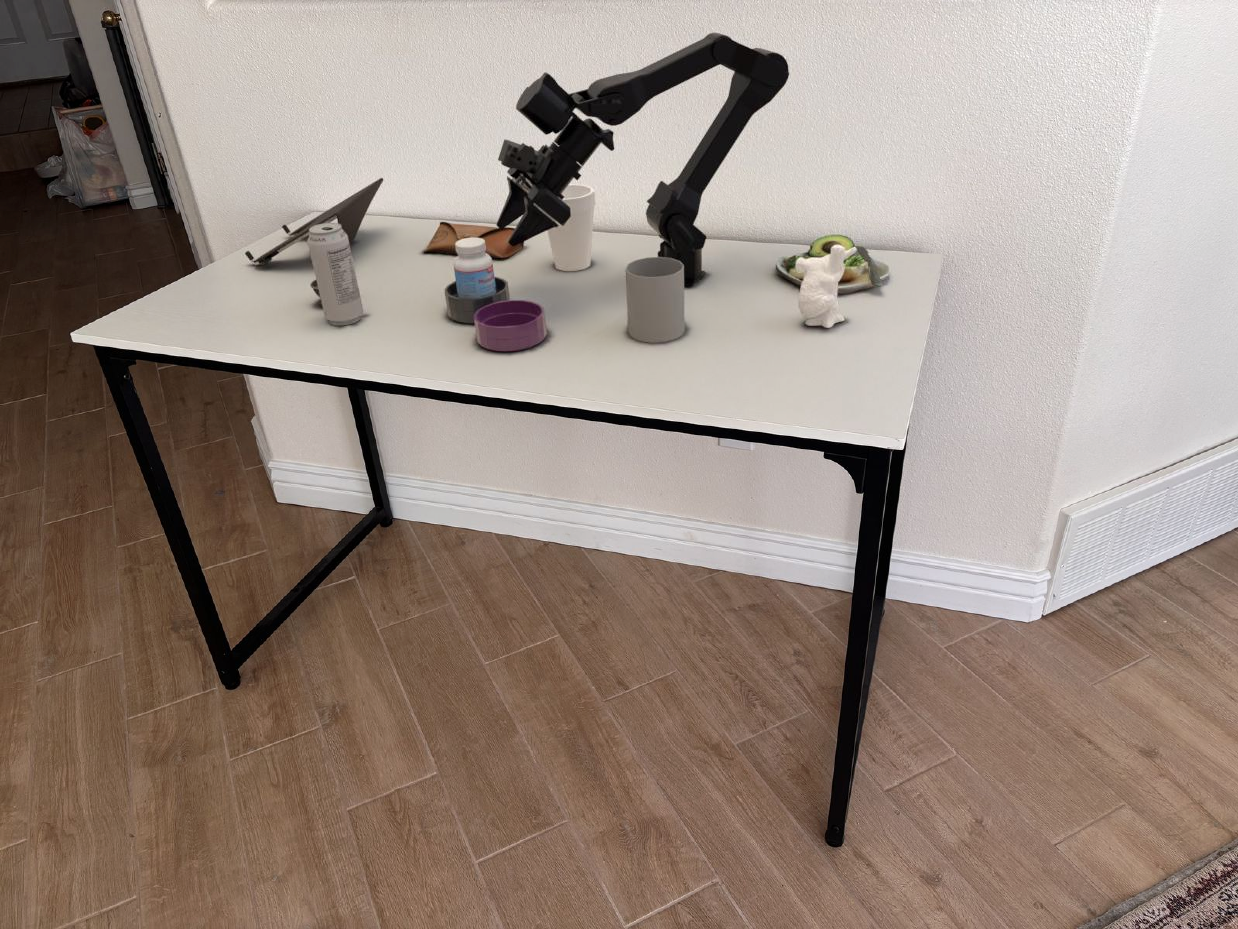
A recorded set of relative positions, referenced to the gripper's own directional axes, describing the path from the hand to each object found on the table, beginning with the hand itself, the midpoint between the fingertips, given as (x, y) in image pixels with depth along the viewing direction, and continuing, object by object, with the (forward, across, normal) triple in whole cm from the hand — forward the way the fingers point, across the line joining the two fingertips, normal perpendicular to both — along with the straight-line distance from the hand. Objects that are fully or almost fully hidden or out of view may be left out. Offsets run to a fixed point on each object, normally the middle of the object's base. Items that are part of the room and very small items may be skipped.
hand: (504, 235), depth 143 cm
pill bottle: (+12, 0, +4) cm, 13 cm away
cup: (-4, +19, +21) cm, 29 cm away
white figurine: (-21, +26, +38) cm, 50 cm away
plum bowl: (+10, +12, +6) cm, 17 cm away
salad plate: (-29, +9, +46) cm, 55 cm away
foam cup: (-2, -15, +18) cm, 23 cm away
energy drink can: (+27, -6, -10) cm, 29 cm away
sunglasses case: (+9, -31, +8) cm, 33 cm away
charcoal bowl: (+12, 0, +4) cm, 13 cm away
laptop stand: (+29, -44, -12) cm, 54 cm away
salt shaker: (+28, -15, -11) cm, 34 cm away
